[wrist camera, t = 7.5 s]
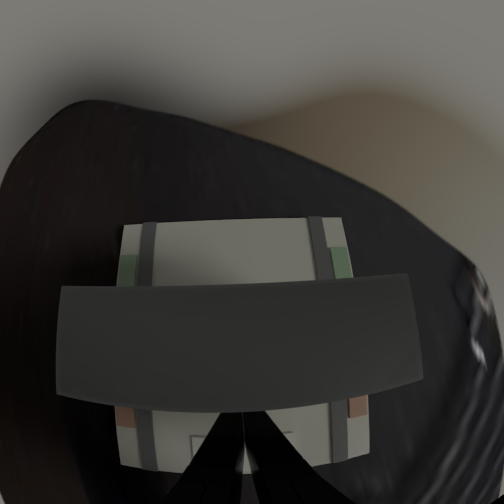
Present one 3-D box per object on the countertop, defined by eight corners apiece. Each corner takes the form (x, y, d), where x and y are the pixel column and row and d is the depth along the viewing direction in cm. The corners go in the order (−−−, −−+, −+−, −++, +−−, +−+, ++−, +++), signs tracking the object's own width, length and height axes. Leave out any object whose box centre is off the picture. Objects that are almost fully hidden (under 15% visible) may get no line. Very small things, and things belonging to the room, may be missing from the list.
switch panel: (362, 448, 14) (371, 453, 13) (127, 459, 13) (119, 465, 12) (336, 225, 21) (342, 215, 20) (129, 232, 20) (123, 223, 19)
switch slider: (324, 377, 15) (423, 378, 6) (154, 384, 14) (56, 394, 5) (319, 327, 16) (407, 273, 7) (154, 333, 16) (61, 285, 7)
